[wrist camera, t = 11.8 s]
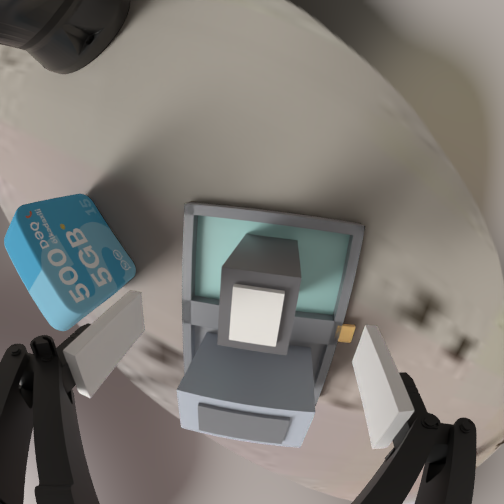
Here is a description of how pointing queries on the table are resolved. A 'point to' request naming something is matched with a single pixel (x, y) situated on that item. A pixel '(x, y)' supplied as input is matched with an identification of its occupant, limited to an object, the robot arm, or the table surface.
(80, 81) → the table surface
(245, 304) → the plug
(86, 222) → the data package
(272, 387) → the block
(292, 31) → the table surface
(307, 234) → the grey flat panel
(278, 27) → the table surface
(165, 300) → the table surface
